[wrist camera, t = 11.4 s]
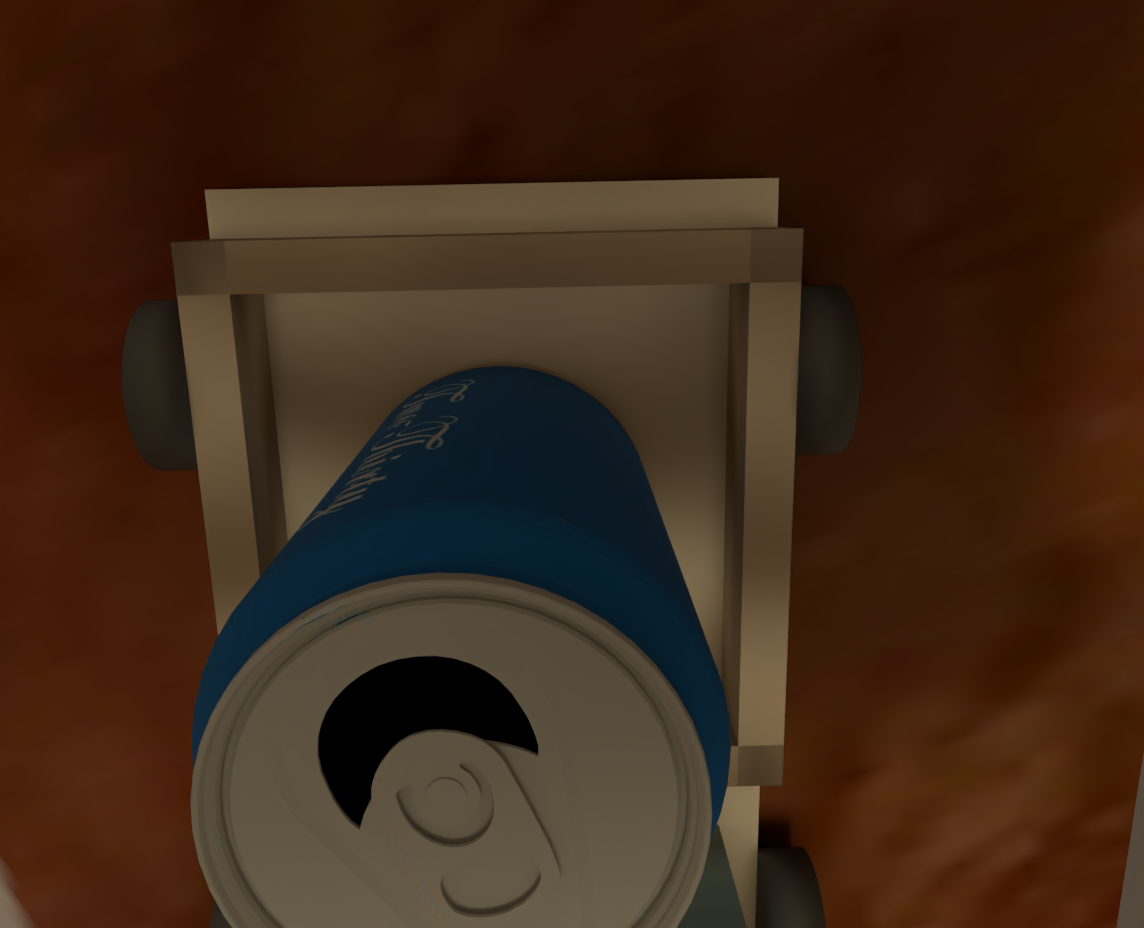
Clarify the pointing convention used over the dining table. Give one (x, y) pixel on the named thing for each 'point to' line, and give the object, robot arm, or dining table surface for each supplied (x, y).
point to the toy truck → (534, 341)
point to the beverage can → (466, 686)
